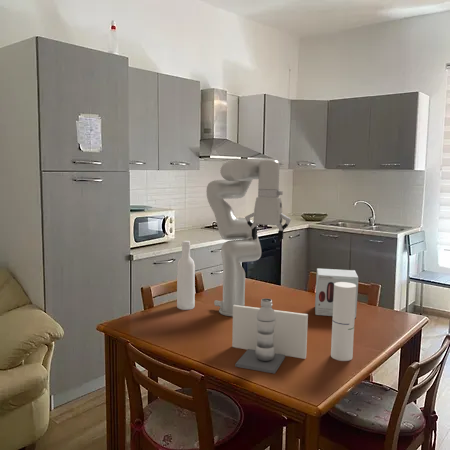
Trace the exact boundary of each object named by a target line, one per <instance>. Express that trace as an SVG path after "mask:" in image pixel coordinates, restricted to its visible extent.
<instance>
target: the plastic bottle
mask: <svg viewBox="0 0 450 450" xmlns="http://www.w3.org/2000/svg"><path fill="white" fill-rule="evenodd" d="M260 306H261V307H259V308H260V309H259V311H258V312H257V315H256V317H257V326H258V338H257V345H256V350H255V353H256V357H257V358H258V359H259V360H261V361H270V360H272V359H273V358H274V356H275V347H274V326H275V321H276V314H275V312H274V310H275V309H273V308H272V307H273V300H272V299H271V298H268V297H267V298H261V299H260Z"/></svg>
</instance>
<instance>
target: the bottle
mask: <svg viewBox="0 0 450 450" xmlns="http://www.w3.org/2000/svg"><path fill="white" fill-rule="evenodd" d="M191 246H192V245H191V241H190V240H182V241H181V257H180V258H179V259H178V261H177V265H176V278H177V279H176V282H177V283H176V307H177V309H179V310H182V311H190V310H193V309H194V308H195V304H196V301H195V299H196V298H195V297H196V296H195V288H196V287H195V286H196V284H195V283H196V282H195V281H196V280H195V277H196V275H195V273H196V271H195V270H196V269H195V268H196V265H195V264H196V263H195V261H194V259H193V258H192V257H191Z"/></svg>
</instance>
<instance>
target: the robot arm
mask: <svg viewBox="0 0 450 450" xmlns="http://www.w3.org/2000/svg"><path fill="white" fill-rule="evenodd" d="M280 166H281V165H280V162H279V161H278V160H274V159H258V158H257V159H256V158H254V159H253V158H249V159H248V158H245V159H244V158H243V159H235V160H230V161H226V162H225V163H224V164H222V166H220V175H221V177H222V178H223V179H215V180H212V181H210V182H209V183H208V184H207V186H206V199H207V203H208V204H209V207H210V208H211V210H212V212H213V214H214V218H215V222H216V225H217V229H218V232H219V236H220V238H221V239H222V240H224V241H225V242H224V243H222V245H221V247H220V252H221V253H220V254H221V260H222V300H216V299H215V300H214V303H213V304H214V306H215V307H219V309H218V313H220V315H223V316H226V317H233V306H234V305H240V306H246V305H245V302H246V301H245V300H246V299H245V298H246V297H245V295H246V294H245V293H246V290H245V289H246V272H245V269H244V268H243V266H242V265H241V263H246V262H247V263H248V262H256V261H258V260H259V259H260V258H261V257H262V246H261V242H260V239H259V236H258V228H257V226H258V225H262V226H263V225H264V226H276V227H277V229H279V230H278V231H277V242H282V240H283V239H284V230H286V229H287V228H288V226H289V225H290V224H291V221H292V218H290V216H289V217H288V216H287V215H285V214H284V213H283V203H282V198H281V197H280V196H283V194H284V191H281V190H280ZM253 180H258V183H257V184H258V186H257V197H256V198H255V203H254V207H253V208H254V209H253V212H252V213H250V214H248V215H246V216H244V217H236V215H235V212H234V210H233V207H232V206H231V205H230V204H229V203H228V202H227V201H225V199H226V200H227V199H228V200H229V199H235V200H236V199H242V198H244V197H245V196H246V194H247V192H248V190H249V188H250V186H251V184H252V182H253ZM251 218H253V221H252V219H251ZM283 220H284V221H285V223H284V224H282V223H283Z"/></svg>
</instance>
